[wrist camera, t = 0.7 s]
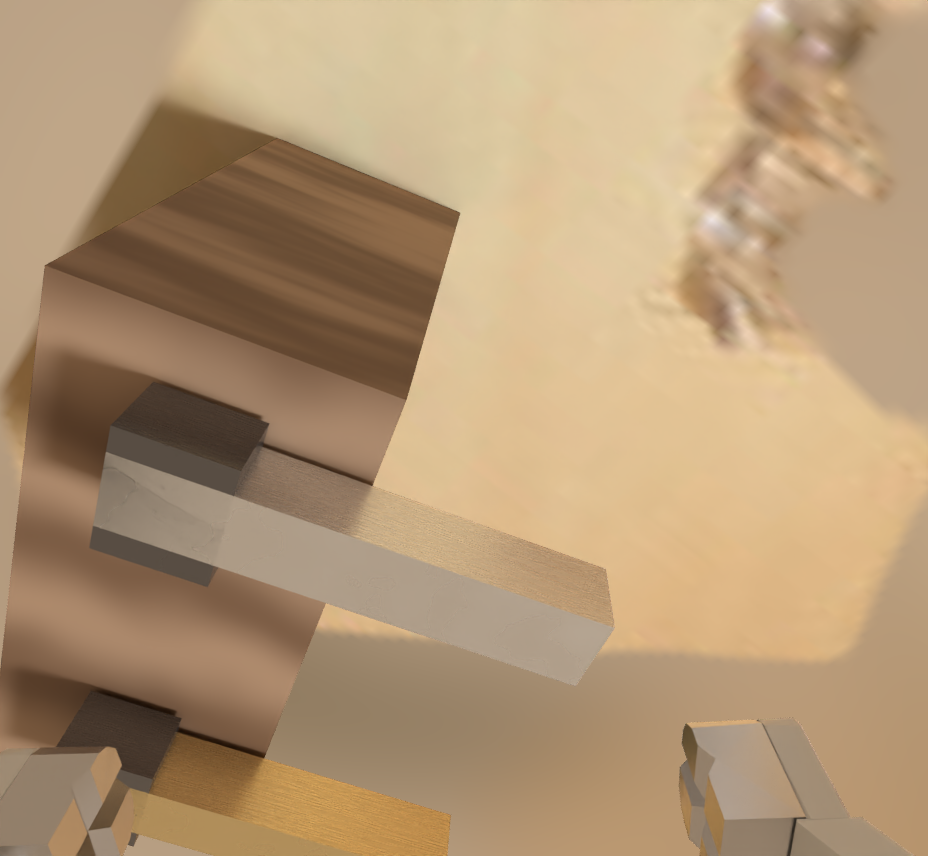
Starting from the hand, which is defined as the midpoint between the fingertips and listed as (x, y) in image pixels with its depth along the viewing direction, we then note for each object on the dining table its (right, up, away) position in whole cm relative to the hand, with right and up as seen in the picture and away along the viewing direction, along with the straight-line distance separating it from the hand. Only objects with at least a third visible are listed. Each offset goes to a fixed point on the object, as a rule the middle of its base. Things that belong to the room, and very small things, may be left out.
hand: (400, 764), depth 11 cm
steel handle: (-2, +1, +16) cm, 17 cm away
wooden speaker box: (-10, +10, +42) cm, 44 cm away
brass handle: (-8, -11, +24) cm, 28 cm away
